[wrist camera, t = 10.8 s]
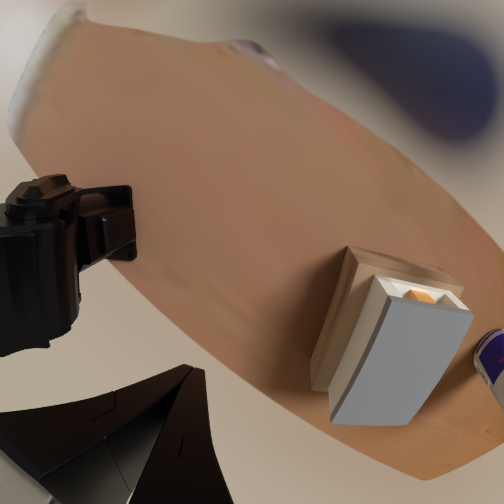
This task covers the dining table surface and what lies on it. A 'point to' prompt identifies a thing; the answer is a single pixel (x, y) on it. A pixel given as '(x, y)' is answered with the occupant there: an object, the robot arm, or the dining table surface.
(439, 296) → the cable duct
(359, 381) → the lid
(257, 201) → the dining table surface
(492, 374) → the energy drink
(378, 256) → the wooden base
